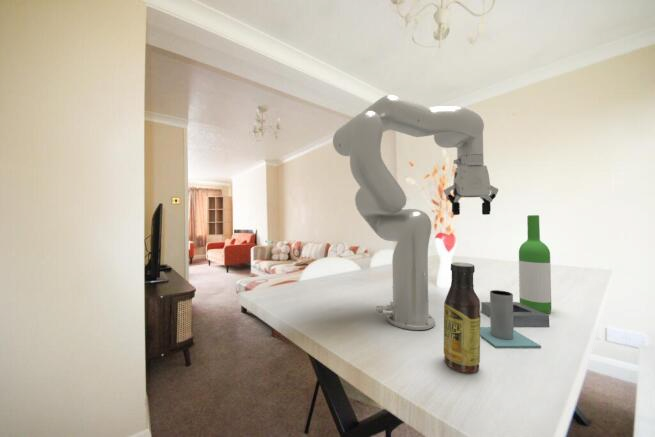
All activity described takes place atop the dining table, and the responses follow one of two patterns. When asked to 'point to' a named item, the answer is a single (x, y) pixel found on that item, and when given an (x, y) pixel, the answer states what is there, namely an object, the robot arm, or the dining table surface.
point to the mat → (516, 342)
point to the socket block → (523, 315)
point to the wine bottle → (535, 270)
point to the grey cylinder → (501, 314)
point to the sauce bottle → (462, 321)
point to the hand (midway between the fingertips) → (471, 214)
